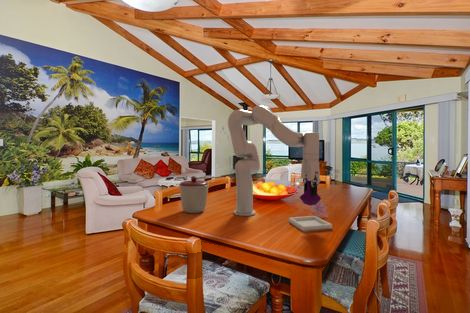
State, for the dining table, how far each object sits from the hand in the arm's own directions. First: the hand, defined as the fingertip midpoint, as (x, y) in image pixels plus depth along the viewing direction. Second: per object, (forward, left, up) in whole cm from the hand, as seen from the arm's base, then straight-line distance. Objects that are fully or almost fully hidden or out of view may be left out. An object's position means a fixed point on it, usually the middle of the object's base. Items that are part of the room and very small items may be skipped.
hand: (310, 193), depth 127 cm
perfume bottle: (0, 0, -6) cm, 6 cm away
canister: (-41, -53, -16) cm, 69 cm away
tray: (0, 0, -16) cm, 16 cm away
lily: (-13, +14, -16) cm, 25 cm away
